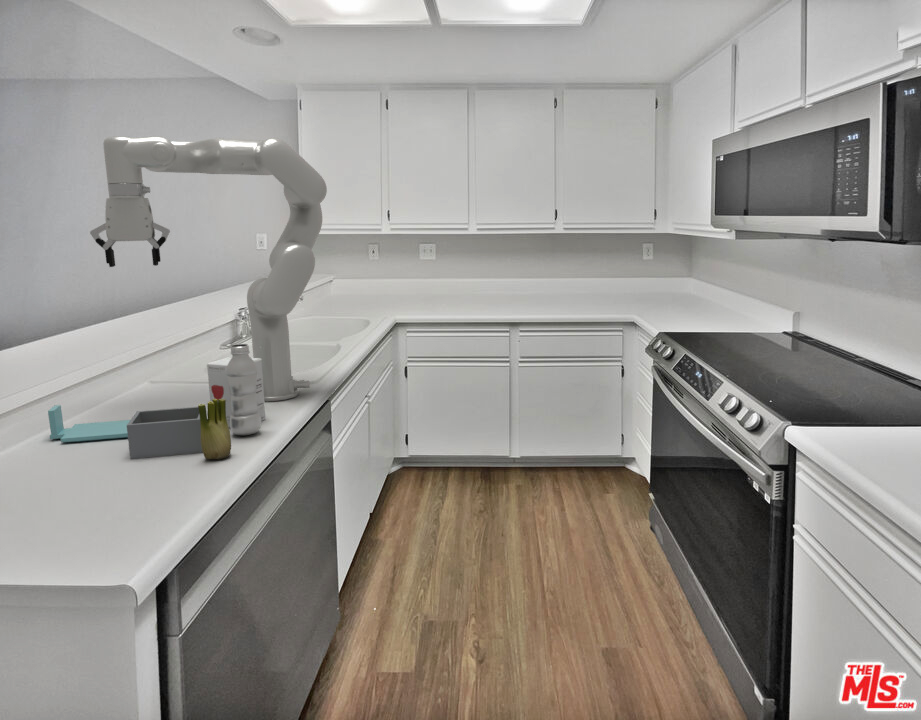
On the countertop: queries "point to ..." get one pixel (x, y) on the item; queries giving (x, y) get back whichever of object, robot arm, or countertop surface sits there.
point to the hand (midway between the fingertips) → (134, 265)
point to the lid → (85, 429)
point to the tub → (164, 432)
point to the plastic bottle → (243, 391)
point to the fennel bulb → (215, 430)
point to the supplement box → (221, 385)
